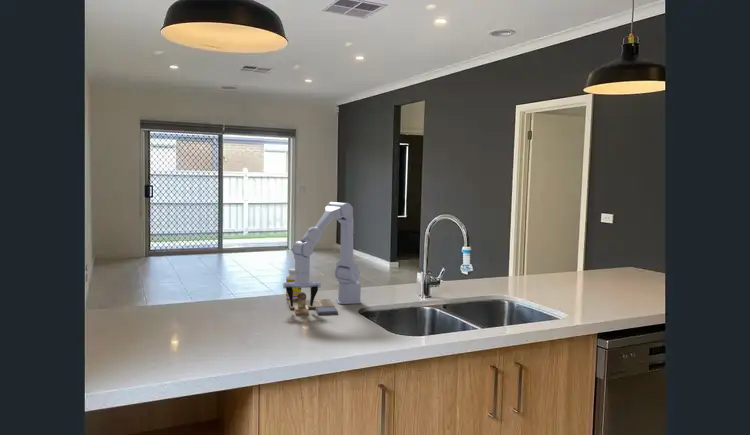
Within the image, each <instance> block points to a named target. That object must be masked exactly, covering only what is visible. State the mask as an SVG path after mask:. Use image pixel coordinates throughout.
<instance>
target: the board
mask: <svg viewBox="0 0 750 435" xmlns="http://www.w3.org/2000/svg"><path fill="white" fill-rule="evenodd" d="M287 304H288V307H289V310H290V311H295V306H298V299H293V307H291V303H290V299H287ZM305 306H308V309H309V310H311V311H312V310H315V308H317V307H335V308H336V306H335V305H334V303H333V302H332V300H331V298H322V299H319V298H318V299H315V298H314V301H313V306H310V299H306V301H305Z"/></svg>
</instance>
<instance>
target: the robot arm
mask: <svg viewBox="0 0 750 435" xmlns="http://www.w3.org/2000/svg"><path fill="white" fill-rule="evenodd" d="M333 220H336V221H338V223H339V224H340V259H339V260H338V261H337V262H336V265H335V266H336V268H335V270H334V276H335V278H336V279H337V282H338V293H337V295H338V296H337V297H338V298H336V299H335V301H336V302H337V303H338V304H339V305H346V304H347V305H349V304H352V305H353V304H361V294H362V293H361V289H362V288H361V282H360V281H358V280H359V278H360V270H359V264H358V263H357V262H356V261H355V260H354V207H353V206H352V205H351V204H350V203H349V202H338V201H337V202H335V201H330V202H328V203H327V205H326V206H325V207H324V213H323V214H322V216H321V217H320V219H319V220H318V221H317V223H316V224H315V226H311V227H309V228H308V229H307V231H306V232H305V233H304V235H303V236H302V237H301V238H300V240H297V241H296V242H295V243H294V244H293V246H292V248H291V251H292V254H293V259H294V269H295V282H288V283H286V282H283V283H282V286H283V287H282V288H283V289H285V291H286V290H287V293H288V295H289V298H290V299H289V300H290V303H291V307H293V300H294V299H293V289H292V288H301V289H303V288H307V289H308V288H309V289H310V299H309V300H310V306H313V301H314V300H315V298H316V295H317V294H318V290H319V289H320V288H322V287H321V281H310V268H311V267H310V266H311V264H310V263H311V262H310V260H311V259H310V258H311V256H312V255H313V254H314V253H313V252H314V248H315V246H316V244H317V243H318V242H319V240H320V239H321V238H322V236H323V234H322V232H323V231H324V230H325V229H326V228H327V227H328V225H329V224H330V223H331V222H332V221H333Z"/></svg>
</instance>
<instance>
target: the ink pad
mask: <svg viewBox="0 0 750 435" xmlns="http://www.w3.org/2000/svg"><path fill="white" fill-rule="evenodd" d="M314 310H315V313H316V314H317V316H326V315H327V316H329V315H331V316H332V315H334V316H335V315H336V316H337V315H339V311H338V310H337V308H336V306H335V307H317V308H315V309H314Z"/></svg>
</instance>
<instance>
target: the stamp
mask: <svg viewBox="0 0 750 435" xmlns="http://www.w3.org/2000/svg"><path fill="white" fill-rule="evenodd" d="M296 300H298V306H295V310H294V314H295V316H302V315H303V316H304V315H306V316H307V315H309V309H308V306H305V301H306V300H307V294H306V293H305V292H302V291H301V292H300V293H299V294H298V295H297V299H296Z"/></svg>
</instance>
